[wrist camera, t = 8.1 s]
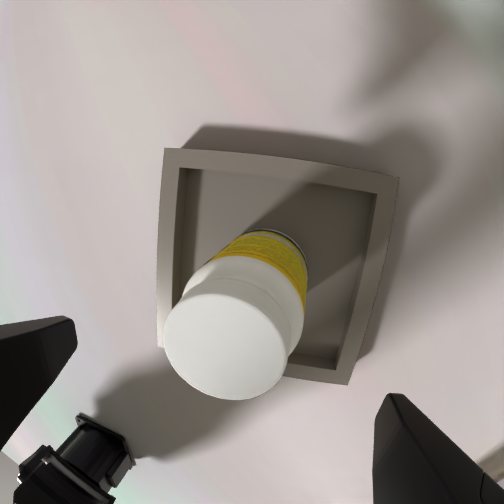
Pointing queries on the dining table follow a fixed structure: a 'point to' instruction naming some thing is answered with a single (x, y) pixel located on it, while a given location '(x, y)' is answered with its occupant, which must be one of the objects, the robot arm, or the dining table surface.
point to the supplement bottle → (240, 316)
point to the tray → (291, 224)
